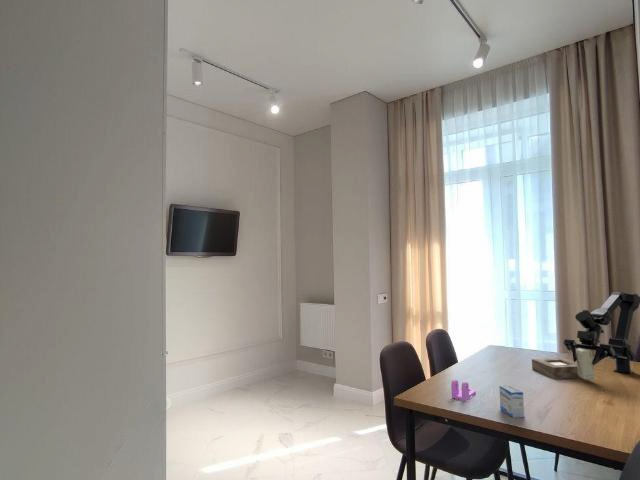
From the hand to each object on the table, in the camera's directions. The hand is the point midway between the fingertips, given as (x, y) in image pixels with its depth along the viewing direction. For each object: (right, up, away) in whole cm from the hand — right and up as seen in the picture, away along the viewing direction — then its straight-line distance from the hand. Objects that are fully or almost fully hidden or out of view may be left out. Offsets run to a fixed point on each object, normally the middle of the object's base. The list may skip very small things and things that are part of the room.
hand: (583, 363), depth 165 cm
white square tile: (-2, -7, +14) cm, 16 cm away
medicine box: (-49, -7, -33) cm, 60 cm away
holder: (-2, -10, +14) cm, 17 cm away
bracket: (-59, -9, -13) cm, 61 cm away
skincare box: (+1, -7, 0) cm, 7 cm away
